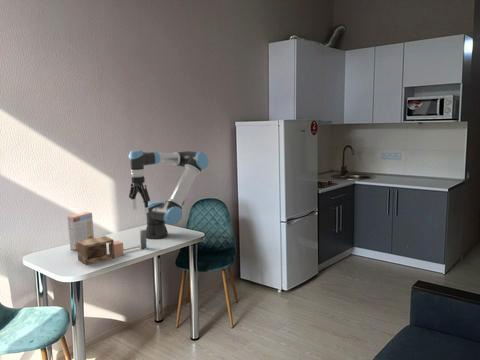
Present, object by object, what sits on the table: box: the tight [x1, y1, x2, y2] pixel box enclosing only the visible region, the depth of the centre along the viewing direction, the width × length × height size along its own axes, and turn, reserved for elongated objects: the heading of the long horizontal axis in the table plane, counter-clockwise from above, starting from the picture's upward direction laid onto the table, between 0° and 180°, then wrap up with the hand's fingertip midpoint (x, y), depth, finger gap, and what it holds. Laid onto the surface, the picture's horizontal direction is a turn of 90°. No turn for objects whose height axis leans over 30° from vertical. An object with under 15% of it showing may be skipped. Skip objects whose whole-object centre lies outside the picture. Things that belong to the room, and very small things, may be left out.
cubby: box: [77, 235, 116, 266], centre depth 235 cm, size 16×11×11 cm
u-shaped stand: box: [108, 229, 148, 257], centre depth 248 cm, size 22×6×11 cm, turn 131°
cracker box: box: [67, 211, 95, 252], centre depth 258 cm, size 14×6×21 cm, turn 149°
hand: (140, 211), depth 254 cm, fingers open, 13 cm apart
